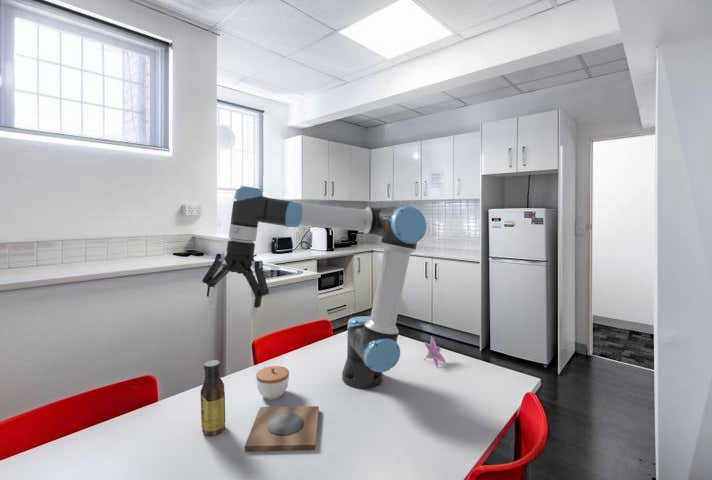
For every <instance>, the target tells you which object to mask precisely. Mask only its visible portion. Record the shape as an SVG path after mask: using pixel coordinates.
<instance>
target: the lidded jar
mask: <svg viewBox="0 0 712 480" xmlns="http://www.w3.org/2000/svg"><path fill="white" fill-rule="evenodd" d="M289 377H290V371H289V369H288V368H287V367H285V366H281V365H271V366H266V367H265V366H264V367H262V368H261V369H259V370H258V371H257V372H256V375H255V378H256V387H257V390H258V393H259V394H260V395H261V396H263V398H264V399H265V400H270V401H271V400H272V401H273V400H277V399H279V398H281V397H282V395H283V394H284V393H285V392H286V390H287V389H288V385H289V379H290V378H289Z"/></svg>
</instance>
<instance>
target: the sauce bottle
mask: <svg viewBox="0 0 712 480" xmlns="http://www.w3.org/2000/svg"><path fill="white" fill-rule="evenodd" d="M220 367H221V362H220V360H217V359H211V360H208V361H206V362H205V363H204V365H203V369H204V381H203V384H202V387H201V389H200V419H201V420H200V421H201V423H200V424H201V431H202V433H203V434H204V435H205V436H215V435H218V434H220V433H222V432H223V431H224V429H225V428H226V392H225V383H224V381H223V380H222V378H221V375H220Z"/></svg>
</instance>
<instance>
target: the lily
mask: <svg viewBox="0 0 712 480" xmlns="http://www.w3.org/2000/svg"><path fill="white" fill-rule="evenodd" d="M423 343H424V346H425V348H426V349H427V350H428V352H427V354H426V357H425V358H424V359H423V361H425V360H426V359H430V360H433V362H434V364H435V367H436V368H438V367H439V362H441V363H444V364H447V362H446V360H445V358H444V356H443V355H442V354H441V347H440V346H437V344H436V341H435V339H434V337H433V336H432V335H431V336H430V343H428V342H427V341H426V342H425V341H423Z"/></svg>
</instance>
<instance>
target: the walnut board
mask: <svg viewBox="0 0 712 480" xmlns="http://www.w3.org/2000/svg"><path fill="white" fill-rule="evenodd" d="M319 415H320V406H317V405H316V406H312V405H311V406H309V405H308V406H260V407H259V409H258V413H257V414H256V416H255V419H254V421H253V424H252V426H251V429H250V432H249V434H248V437H247V439H246V442H245V445H244V452H288V451H290V452H292V451H293V452H294V451H297V452H298V451H316V447H317V436H318V435H317V434H318V426H319V424H318V423H319Z"/></svg>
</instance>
